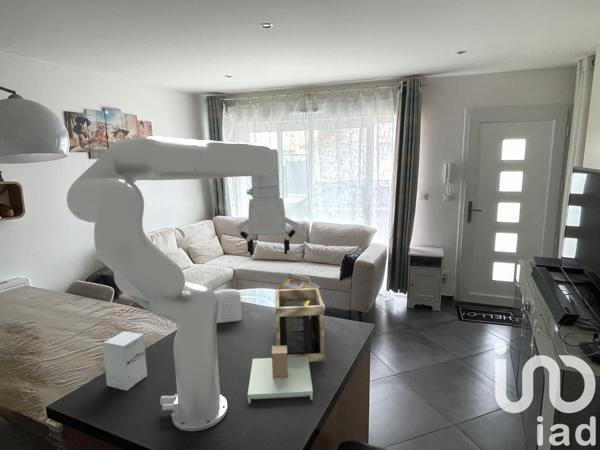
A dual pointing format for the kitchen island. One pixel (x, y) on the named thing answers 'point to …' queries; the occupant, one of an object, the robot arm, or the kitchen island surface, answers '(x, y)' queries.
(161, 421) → the kitchen island surface
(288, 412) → the kitchen island surface
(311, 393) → the lid
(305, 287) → the milk carton
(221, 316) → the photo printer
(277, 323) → the crate
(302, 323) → the tampon box
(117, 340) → the supplement box
